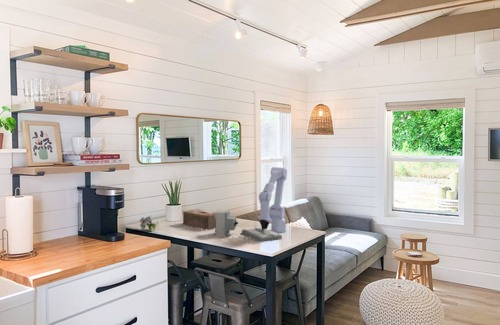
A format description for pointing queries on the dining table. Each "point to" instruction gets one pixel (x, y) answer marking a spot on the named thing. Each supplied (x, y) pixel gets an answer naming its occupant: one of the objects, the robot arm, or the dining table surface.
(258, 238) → the breaker panel
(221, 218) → the circuit breaker
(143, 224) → the passion flower
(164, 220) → the dining table surface
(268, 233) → the switch
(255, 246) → the dining table surface
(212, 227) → the tissue box cover
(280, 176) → the robot arm
